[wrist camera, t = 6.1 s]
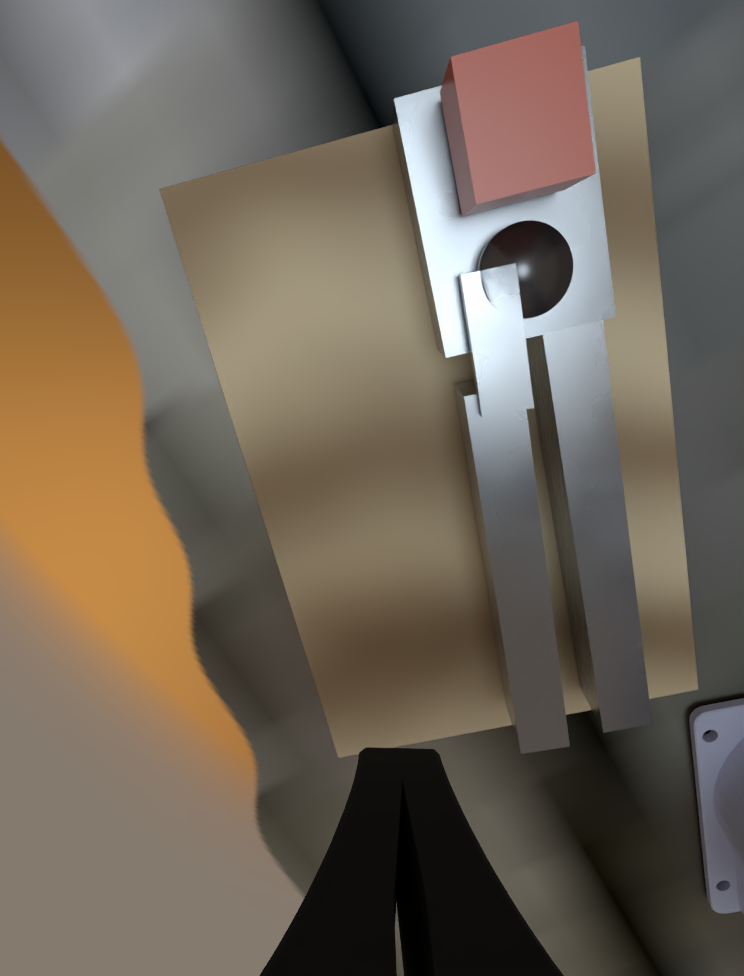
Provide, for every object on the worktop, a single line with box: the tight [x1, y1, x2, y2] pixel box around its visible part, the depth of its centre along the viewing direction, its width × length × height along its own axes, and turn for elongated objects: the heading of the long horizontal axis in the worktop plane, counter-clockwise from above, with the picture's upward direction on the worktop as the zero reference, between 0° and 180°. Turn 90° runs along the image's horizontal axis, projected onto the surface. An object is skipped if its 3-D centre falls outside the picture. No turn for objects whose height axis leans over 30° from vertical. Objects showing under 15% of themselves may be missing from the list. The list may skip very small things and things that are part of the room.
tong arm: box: [453, 220, 573, 754], centre depth 16 cm, size 14×3×3 cm, turn 12°
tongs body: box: [392, 46, 652, 733], centre depth 16 cm, size 17×4×2 cm, turn 14°
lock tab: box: [440, 21, 596, 217], centre depth 12 cm, size 2×2×2 cm
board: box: [159, 57, 698, 758], centre depth 18 cm, size 18×12×1 cm, turn 14°
